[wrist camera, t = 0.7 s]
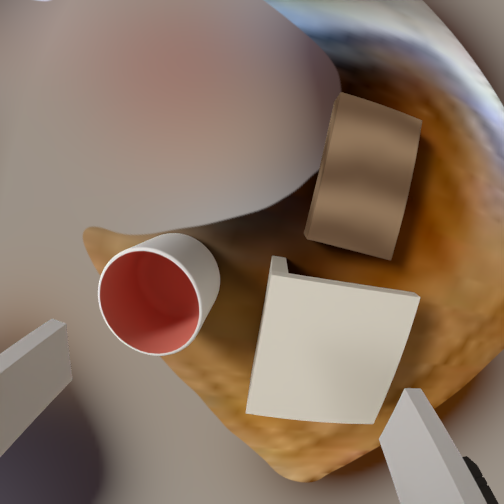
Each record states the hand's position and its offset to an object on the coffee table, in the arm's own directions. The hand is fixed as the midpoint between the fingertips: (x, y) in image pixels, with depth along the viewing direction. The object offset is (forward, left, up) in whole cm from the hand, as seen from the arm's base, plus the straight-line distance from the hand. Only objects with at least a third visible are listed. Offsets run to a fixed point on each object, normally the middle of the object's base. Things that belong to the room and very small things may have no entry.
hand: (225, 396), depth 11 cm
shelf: (+7, +8, -25) cm, 27 cm away
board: (-10, +9, -25) cm, 29 cm away
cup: (+4, -9, -25) cm, 27 cm away
